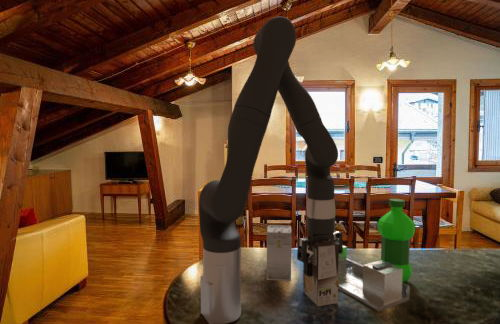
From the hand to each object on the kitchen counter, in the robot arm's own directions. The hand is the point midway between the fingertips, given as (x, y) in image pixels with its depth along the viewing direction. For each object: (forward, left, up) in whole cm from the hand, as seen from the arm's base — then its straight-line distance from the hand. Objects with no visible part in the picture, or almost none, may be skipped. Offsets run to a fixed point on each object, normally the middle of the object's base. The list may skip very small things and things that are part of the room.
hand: (320, 272), depth 89 cm
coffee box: (0, 0, -7) cm, 7 cm away
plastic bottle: (+27, -3, -7) cm, 28 cm away
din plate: (+14, +1, -7) cm, 15 cm away
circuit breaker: (0, +20, -7) cm, 21 cm away
